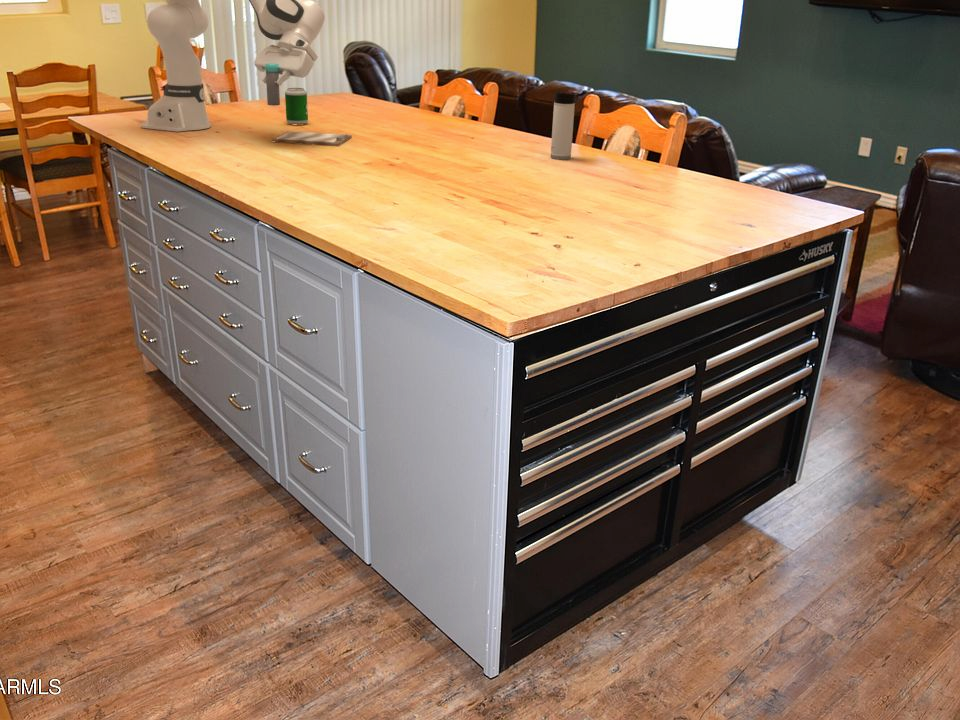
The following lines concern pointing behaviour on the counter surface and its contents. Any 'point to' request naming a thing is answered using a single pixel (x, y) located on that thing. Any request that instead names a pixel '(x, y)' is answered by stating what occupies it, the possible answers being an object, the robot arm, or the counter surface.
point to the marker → (272, 84)
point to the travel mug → (562, 126)
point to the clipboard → (313, 138)
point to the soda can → (296, 106)
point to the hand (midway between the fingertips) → (271, 83)
